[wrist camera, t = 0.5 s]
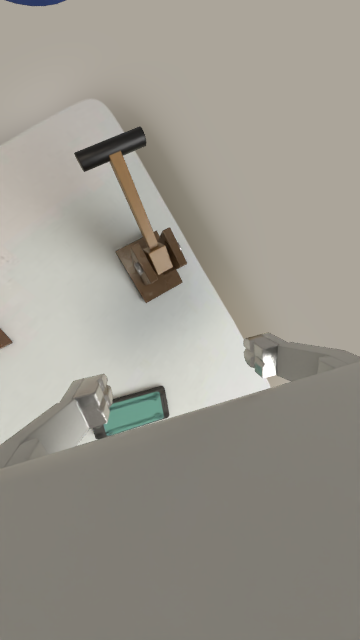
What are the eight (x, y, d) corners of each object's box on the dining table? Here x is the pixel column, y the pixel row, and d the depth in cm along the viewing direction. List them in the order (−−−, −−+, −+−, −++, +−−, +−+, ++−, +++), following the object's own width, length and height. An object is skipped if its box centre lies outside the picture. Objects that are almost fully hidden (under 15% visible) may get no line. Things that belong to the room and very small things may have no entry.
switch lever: (74, 156, 14) (73, 149, 13) (136, 130, 15) (143, 121, 13) (139, 276, 22) (144, 282, 21) (178, 255, 23) (186, 260, 21)
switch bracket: (115, 252, 29) (102, 227, 17) (155, 232, 30) (169, 195, 18) (145, 302, 32) (151, 311, 20) (181, 282, 33) (207, 278, 21)
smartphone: (86, 410, 32) (164, 388, 35) (88, 406, 33) (163, 385, 36) (96, 442, 33) (170, 418, 37) (97, 436, 35) (168, 414, 38)
